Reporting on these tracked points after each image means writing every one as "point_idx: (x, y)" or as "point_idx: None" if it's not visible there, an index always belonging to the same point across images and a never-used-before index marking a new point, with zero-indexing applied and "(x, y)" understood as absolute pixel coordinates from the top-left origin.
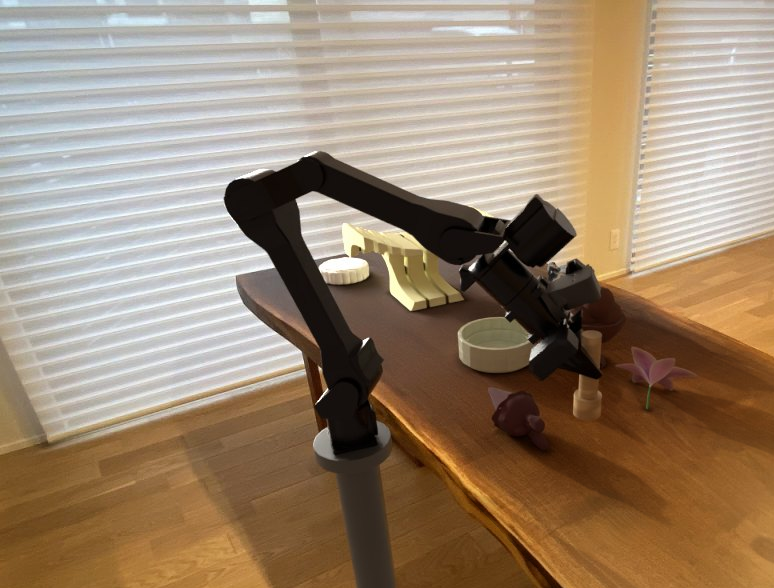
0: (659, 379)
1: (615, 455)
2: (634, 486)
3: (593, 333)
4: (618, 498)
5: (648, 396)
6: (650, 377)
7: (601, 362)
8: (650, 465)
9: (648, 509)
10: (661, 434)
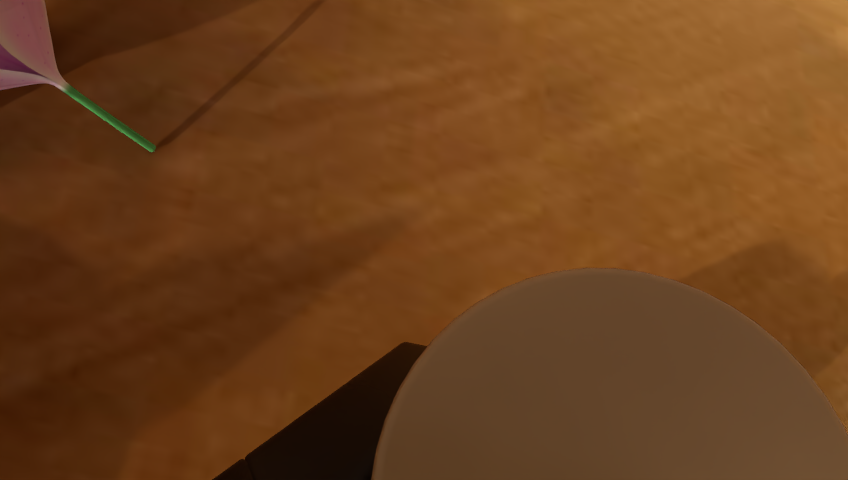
0: (47, 29)
1: None
2: None
3: (581, 450)
4: None
5: (110, 117)
6: (30, 60)
7: (412, 348)
8: (550, 240)
9: (820, 317)
10: (346, 145)
